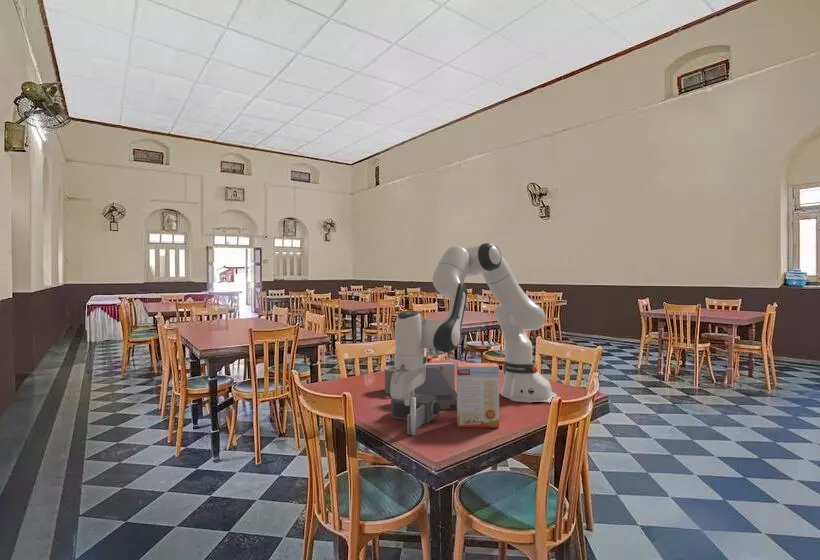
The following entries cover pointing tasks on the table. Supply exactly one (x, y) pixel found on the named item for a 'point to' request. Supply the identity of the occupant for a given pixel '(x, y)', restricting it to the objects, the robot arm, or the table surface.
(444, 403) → the instant camera
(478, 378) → the cracker box
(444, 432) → the table surface
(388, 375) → the coffee mug
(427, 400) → the camera box
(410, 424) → the side door
